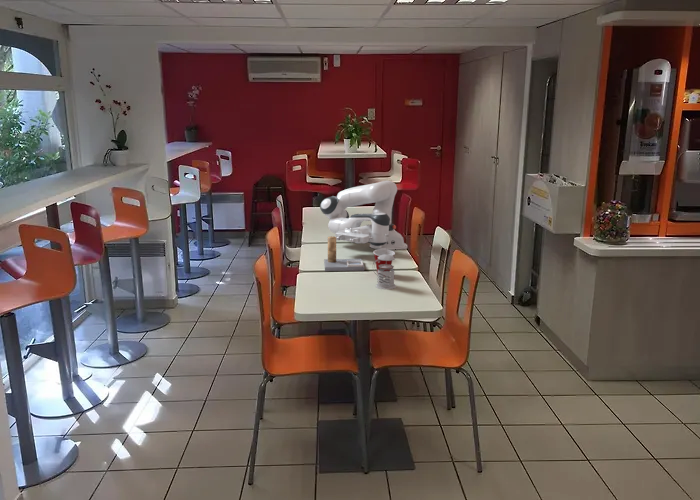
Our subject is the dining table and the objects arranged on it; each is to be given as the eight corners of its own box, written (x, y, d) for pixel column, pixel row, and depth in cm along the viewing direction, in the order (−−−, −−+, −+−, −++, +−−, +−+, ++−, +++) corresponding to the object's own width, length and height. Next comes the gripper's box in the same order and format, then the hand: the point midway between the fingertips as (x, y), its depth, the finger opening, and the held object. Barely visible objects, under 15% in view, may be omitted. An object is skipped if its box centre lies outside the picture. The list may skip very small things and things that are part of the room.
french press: (390, 290, 266) (391, 237, 260) (368, 286, 272) (368, 234, 266) (399, 285, 274) (401, 233, 268) (378, 281, 280) (379, 230, 274)
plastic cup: (379, 279, 284) (380, 255, 281) (368, 273, 293) (369, 250, 290) (398, 276, 289) (399, 252, 286) (387, 271, 298) (387, 248, 295)
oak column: (336, 260, 311) (336, 236, 307) (336, 262, 306) (336, 238, 303) (327, 260, 310) (327, 236, 307) (327, 262, 306) (327, 238, 303)
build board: (361, 262, 314) (361, 257, 313) (364, 270, 299) (364, 264, 298) (324, 262, 313) (324, 257, 312) (324, 271, 297) (324, 265, 297)
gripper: (374, 243, 321) (360, 248, 310) (344, 238, 333) (329, 243, 322) (374, 231, 320) (360, 236, 309) (344, 227, 331) (329, 232, 320)
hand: (344, 239), depth 315 cm, fingers open, 8 cm apart
